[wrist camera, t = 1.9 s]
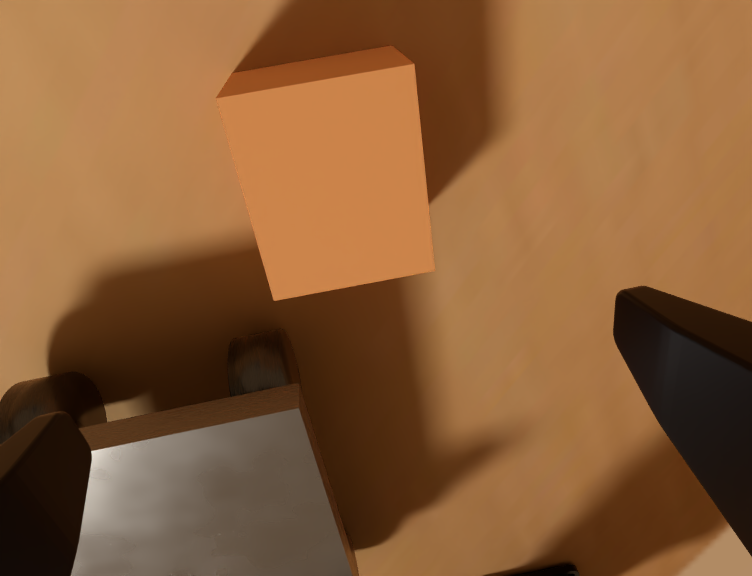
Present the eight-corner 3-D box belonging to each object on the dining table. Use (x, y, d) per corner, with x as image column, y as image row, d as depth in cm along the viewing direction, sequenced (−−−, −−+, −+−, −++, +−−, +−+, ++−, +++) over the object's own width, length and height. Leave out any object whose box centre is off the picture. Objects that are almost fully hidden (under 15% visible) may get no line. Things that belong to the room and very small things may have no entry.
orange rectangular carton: (391, 44, 17) (414, 63, 14) (412, 219, 20) (435, 270, 17) (232, 71, 17) (215, 98, 13) (278, 244, 20) (273, 300, 17)
